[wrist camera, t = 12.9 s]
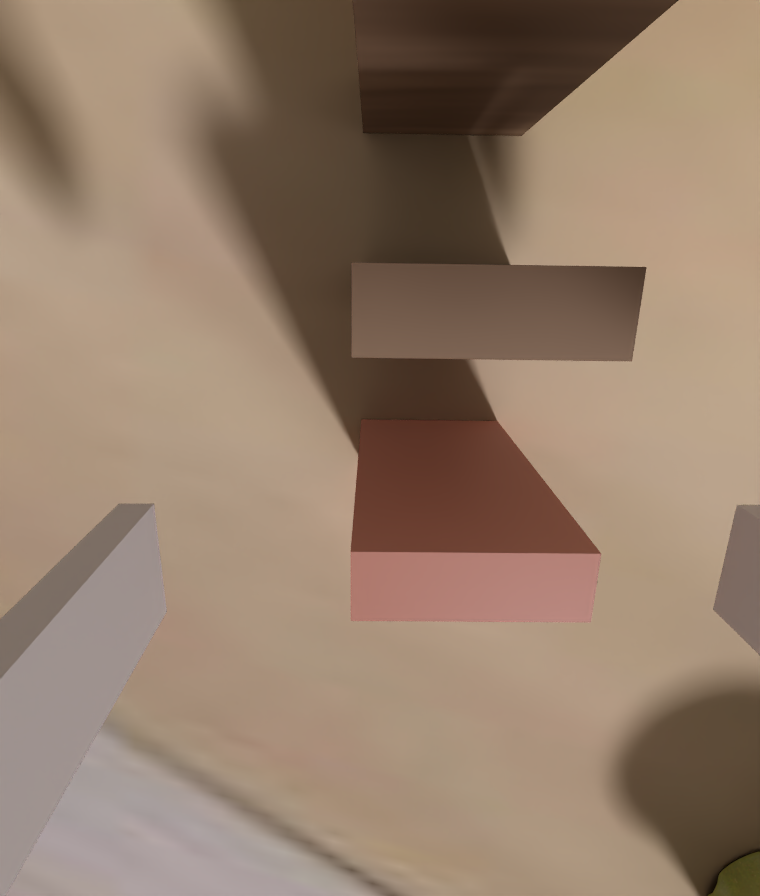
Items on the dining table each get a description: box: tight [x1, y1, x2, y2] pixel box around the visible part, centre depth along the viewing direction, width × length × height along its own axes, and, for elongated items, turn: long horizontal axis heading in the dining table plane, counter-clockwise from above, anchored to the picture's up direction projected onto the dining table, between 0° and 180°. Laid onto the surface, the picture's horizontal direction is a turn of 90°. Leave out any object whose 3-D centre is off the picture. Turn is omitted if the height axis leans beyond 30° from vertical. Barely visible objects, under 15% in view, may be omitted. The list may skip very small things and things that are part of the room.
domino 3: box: [351, 419, 601, 622], centre depth 16 cm, size 2×5×10 cm, turn 89°
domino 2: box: [351, 263, 646, 361], centre depth 15 cm, size 2×5×10 cm, turn 89°
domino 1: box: [353, 0, 678, 136], centre depth 13 cm, size 2×5×10 cm, turn 89°
